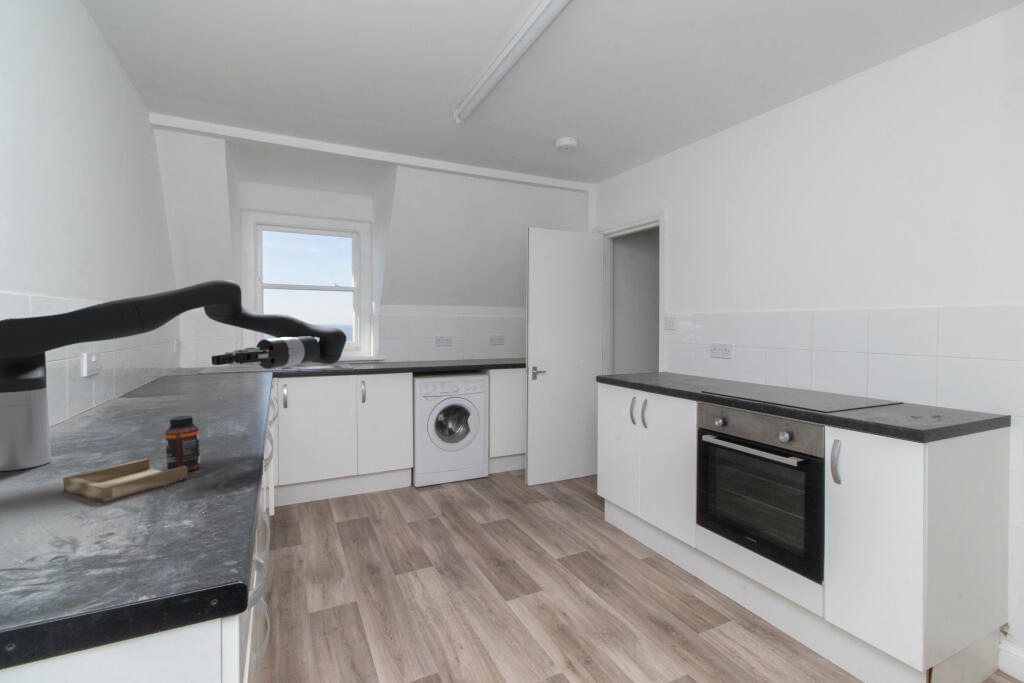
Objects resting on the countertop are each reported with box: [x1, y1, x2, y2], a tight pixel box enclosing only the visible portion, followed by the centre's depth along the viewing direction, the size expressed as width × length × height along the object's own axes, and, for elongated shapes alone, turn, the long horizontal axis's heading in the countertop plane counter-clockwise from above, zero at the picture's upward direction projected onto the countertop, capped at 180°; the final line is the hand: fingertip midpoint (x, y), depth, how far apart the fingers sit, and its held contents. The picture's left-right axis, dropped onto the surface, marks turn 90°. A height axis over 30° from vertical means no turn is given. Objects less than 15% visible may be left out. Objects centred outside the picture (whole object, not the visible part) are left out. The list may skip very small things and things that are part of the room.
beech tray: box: [62, 458, 189, 503], centre depth 95 cm, size 15×14×2 cm
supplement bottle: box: [164, 415, 201, 472], centre depth 105 cm, size 6×6×11 cm
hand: (213, 360), depth 111 cm, fingers closed
